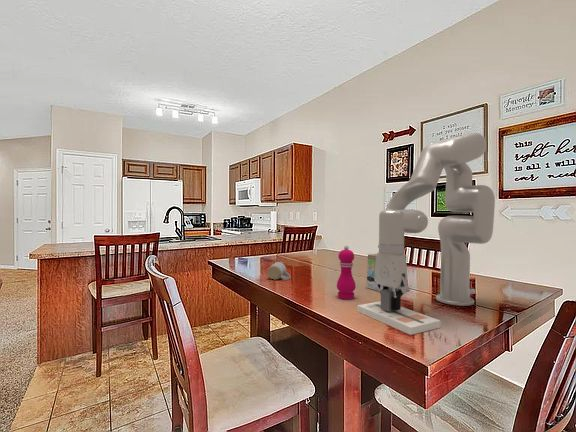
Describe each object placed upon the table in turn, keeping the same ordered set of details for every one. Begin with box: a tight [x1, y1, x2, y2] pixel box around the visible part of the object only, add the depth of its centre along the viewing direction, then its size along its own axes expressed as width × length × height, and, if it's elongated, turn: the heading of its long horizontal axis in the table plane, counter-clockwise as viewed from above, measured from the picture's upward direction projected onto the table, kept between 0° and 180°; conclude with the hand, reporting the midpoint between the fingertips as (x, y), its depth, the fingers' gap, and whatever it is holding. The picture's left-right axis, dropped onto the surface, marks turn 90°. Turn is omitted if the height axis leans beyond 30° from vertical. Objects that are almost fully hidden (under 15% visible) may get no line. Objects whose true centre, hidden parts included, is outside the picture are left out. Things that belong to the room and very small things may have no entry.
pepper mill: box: [336, 245, 356, 301], centre depth 120 cm, size 7×7×20 cm
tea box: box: [366, 253, 407, 292], centre depth 135 cm, size 15×10×15 cm
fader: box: [380, 288, 402, 312], centre depth 98 cm, size 5×4×6 cm
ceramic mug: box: [267, 261, 291, 281], centre depth 152 cm, size 11×8×8 cm
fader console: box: [356, 300, 441, 336], centre depth 97 cm, size 12×22×2 cm, turn 27°
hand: (390, 307), depth 98 cm, fingers closed on fader, 3 cm apart
